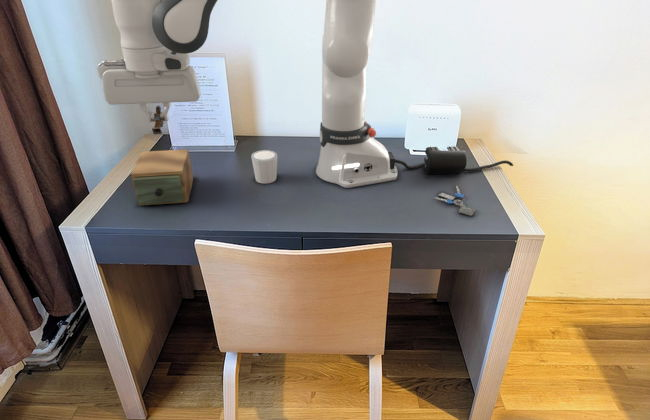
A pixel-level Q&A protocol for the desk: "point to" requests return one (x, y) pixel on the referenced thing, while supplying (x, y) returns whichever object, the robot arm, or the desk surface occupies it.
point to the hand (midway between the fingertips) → (159, 120)
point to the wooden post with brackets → (157, 122)
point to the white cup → (265, 166)
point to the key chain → (463, 208)
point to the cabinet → (165, 167)
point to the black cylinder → (445, 160)
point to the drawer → (159, 189)
